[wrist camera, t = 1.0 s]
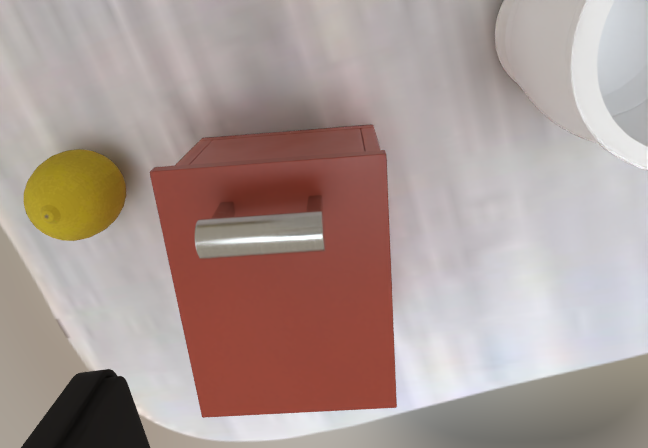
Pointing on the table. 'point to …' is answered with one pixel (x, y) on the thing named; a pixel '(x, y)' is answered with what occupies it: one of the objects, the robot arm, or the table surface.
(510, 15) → the jar
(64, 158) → the lemon
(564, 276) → the table surface
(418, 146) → the table surface
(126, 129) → the table surface
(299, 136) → the bin
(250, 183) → the bin lid
